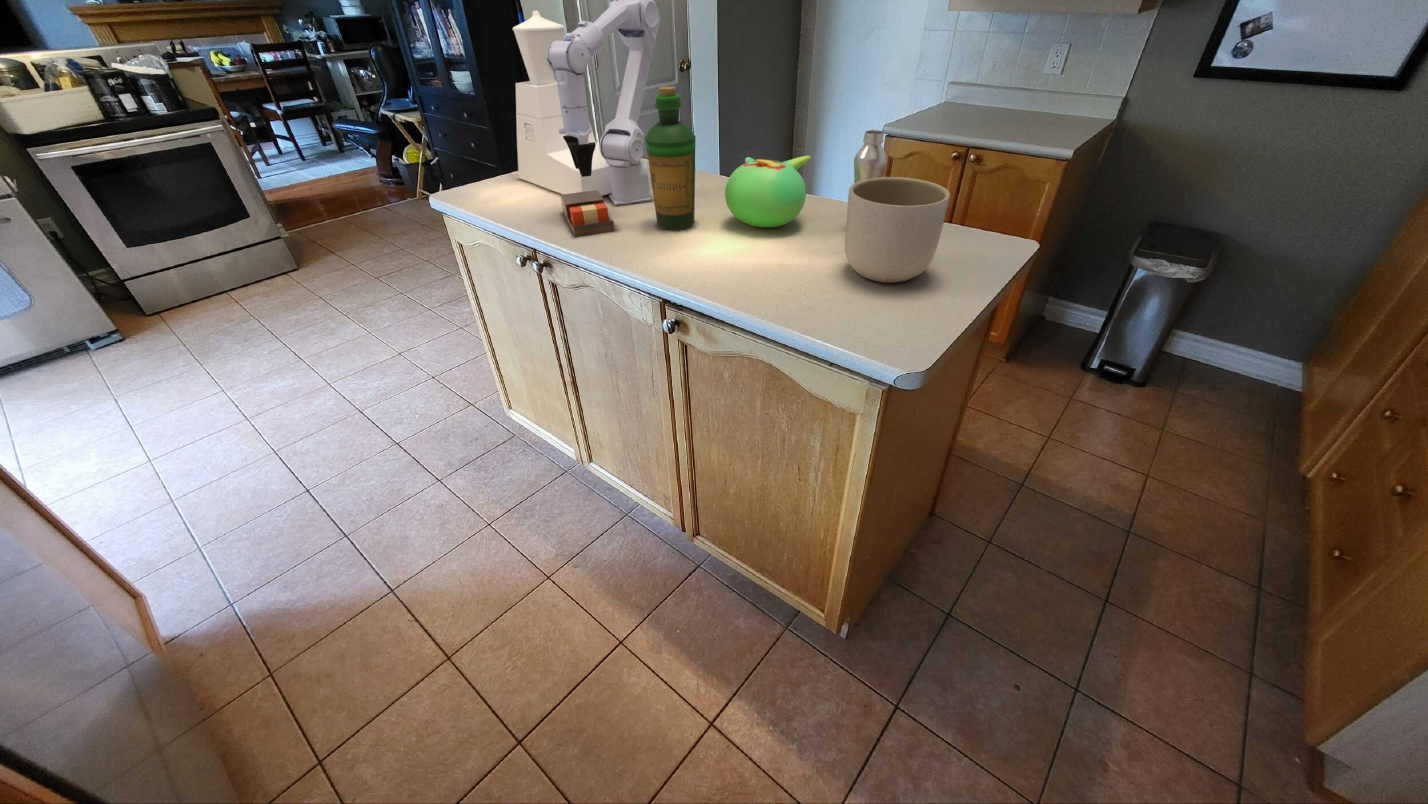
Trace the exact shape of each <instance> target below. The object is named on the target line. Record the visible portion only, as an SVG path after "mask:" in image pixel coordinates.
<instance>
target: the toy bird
mask: <svg viewBox="0 0 1428 804" xmlns="http://www.w3.org/2000/svg"><path fill="white" fill-rule="evenodd" d="M811 159H812V156H811V155H803V156H799V157H796V158H792V159H789V160H785V161H781V160H776V159H774V160H773V159H763V158H761V159H760V158H759V159H757V158H756V159H754V158H752V157H749V156H748V157H745V160H744V161H745V163H743V164H741V165H740V166H738V167H737V168H736V169H734V171H733V172H732V173H731V175H730V176H729V178H728V179H727V182H726V184H725V188H724V189H725V190H724V198H725V199H724V200H725V203H726V206H727V208H728V210H729V212H730V213H731V214H732V216H734V217H735V218H736V219H737V220H739V221H740V222H742V223H744V224H746V225H749V226H752V227H755V228H756V227H757V228H777V227H781V226H784V225H786V224H788V223H790V222H792V221H793V220H795V218H797V217H798V215H800V213H801V212H802V211H803V208H804V206H805V203H806V198H807V188H806V184H805V181H804V179H803V177H802V175H801V173H799V172H798V171H797V170H798V169H800V168H801V167H802V166H804V165H805V164H806V163H808V162H809V161H810V160H811Z"/></svg>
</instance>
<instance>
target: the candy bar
mask: <svg viewBox="0 0 1428 804" xmlns="http://www.w3.org/2000/svg"><path fill="white" fill-rule="evenodd" d="M608 209H609V208H608V206H607V205H606V203H605V202H604V203H600V204H592V205H585V206H578V207H571V208H570V214H571V220H572V223H573V225H574V226H578V225H585V224H592V223H599V222H606V221H609V218H610V217H609V216H610V215H609V210H608Z"/></svg>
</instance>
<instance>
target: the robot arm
mask: <svg viewBox="0 0 1428 804" xmlns="http://www.w3.org/2000/svg"><path fill="white" fill-rule="evenodd" d="M658 9H659V8H658V6H657V4H656V1H655V0H613V1H610V2H609V4H608V7H607V9H606V10H605V11H604V12H603V13H601V14H600V16H599V17H598V18H597V19H596V20H595V21H594V22H592V21H586V20H581V21H579V22H578V23H577V26H578V27H576V28H575V29H574V30H573V31H571V32H567V33H566V34H564V36H565V38H564V39H563V41H554V42H553V43H552V44H551V45H550V47H549V49H548V57H547V62H548V65H549V67H550V68H551V70H552V72H553V75H554V79H555V81H556V82H557V86H558V93H559V99H560V106H561V112H562V119H563V126H564V129H559V133H560V134H567V135H565V136H563V138H564V140H565V141H566V143H567V145H568V147H569V150H570V152H571V155H572V159H573V162H574V165H575V167H576V169H579V171H580V174H581V176H582V177H586V176H591V172H592V158H593V153H594V150H595V147H596V143H597V142H596V143H595V142H592V143H589V142H588V135H589V134H590V133H591V132H592V131H593V129H592V130H591V128H592V126H591V127H590V124H591V121H590V115H589V107H588V100H587V92H586V85H585V84H586V83H585V76H584V73H585V72H586V70H587V68H588V65H589V61H590V60H591V59H592V58H593V57H594V56H595V55H596V54H598V53H599V52H600V51H601V50H603V47H604V45H605V39H606V38H607V37H609V36H610V35H613V33H614V32H617V34H618V36H619V38H620V40H621V41H622V43H623V44H624V45H625V46H626V47H628V51H629V52H628V57H627V61H626V66H625V70H624V74H623V80H622V85H621V90H620V94H619V99H618V104H617V108H616V114H615V118H614V119H612V120H611V121H610V122H608V123H607V124H606V125H605V126H604V127H605V128H604V132H603V133H602V135H601V137H600V139H599V143H598V144H599V149H600V153H601V155H602V157H603V158H604V159H606V163H607V164H609V171H610V178H611V186H612V193H610V194H608V197H609V198H610V200H611V201H612V203H613V204H614V206H620V205H627V204H635V203H642V202H650V201H652V196H651V186H650V176H649V175H650V174H649V169H648V166H647V163H646V162H645V160H644V161H643V160H642V158H643V156H644V151H645V150H644V149H645V147H644V140H645V134H644V132H643V131H642V129H641V128H640V126H639V125H638V122H639V119H640V113H641V108H642V104H643V100H644V95H645V90H646V86H647V81H648V77H649V72H650V67H651V64H652V59H653V53H654V46H655V45H656V40H657V36H658V32H659V28H660V22H661V17H660V14H659V13H660V12H659V10H658ZM589 121H590V122H589Z"/></svg>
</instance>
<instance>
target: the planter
mask: <svg viewBox="0 0 1428 804" xmlns="http://www.w3.org/2000/svg"><path fill="white" fill-rule="evenodd" d="M950 200H951V192H950V191H949V190H948V189H947V188H946V187H944V186H942V185H940V184H938V183H935V182H932V181H928V180H924V179H919V178H911V177H903V176H901V177H900V176H883V177H880V178H871V179H866V180H862V181H859V182H856V183H854V182H853V183H852V185H850V187H849V189H848V197H847V207H846V217H845V219H846V220H845V229H844V253H845V258H846V260H847V262H848V264H849V266H850V267H851V268H852V269H853V270H854V272H856V273H857V274H858V275H860V276H862V277H863V278H865V279H868V280H869V281H874V282H878V283H890V284H891V283H892V284H895V283H902V282H906V281H910V280H911V279H913V278H916V277H918V276H919V275H921V274H922V273H923V272H925V271H926V270H927V269H928V267H930V265H931V263H932V261H933V260H934V257H935V254H936V251H937V250H938V249H937V248H938V246H939V242H940V239H941V236H942V235H941V234H942V231H943V227H944V223H945V220H946V215H947V211H948V208H949V203H950Z"/></svg>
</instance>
